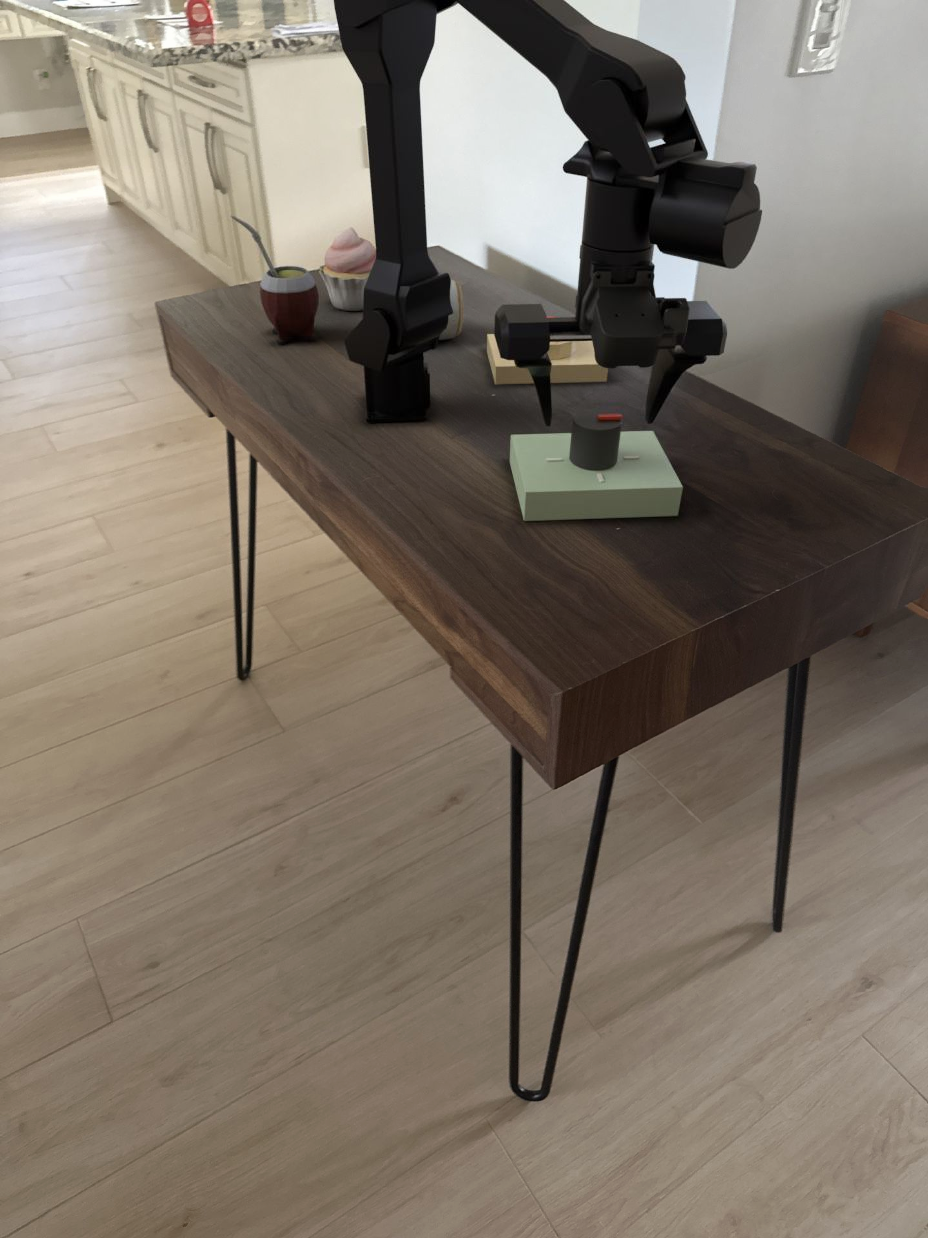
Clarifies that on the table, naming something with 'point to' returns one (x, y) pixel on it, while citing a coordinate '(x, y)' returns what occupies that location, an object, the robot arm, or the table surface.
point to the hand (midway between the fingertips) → (598, 423)
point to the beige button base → (567, 364)
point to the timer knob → (595, 439)
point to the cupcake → (348, 269)
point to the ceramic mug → (454, 313)
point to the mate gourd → (287, 297)
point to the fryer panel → (593, 479)
